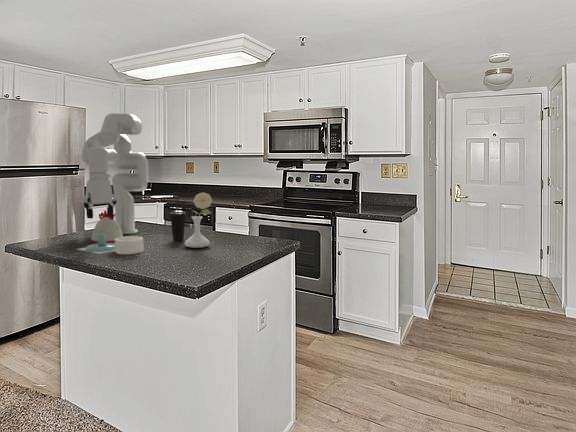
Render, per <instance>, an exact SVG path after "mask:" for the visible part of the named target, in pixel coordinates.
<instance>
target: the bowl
mask: <svg viewBox="0 0 576 432" xmlns="http://www.w3.org/2000/svg"><path fill="white" fill-rule="evenodd" d="M114 244H115V251H114V252H115V253H116V254H118V255H134V254H135V255H136V256H137V255H138V254H141V253H142V252H144V248H145V247H144V244H145V243H144V237H143V236H137V235H133V236H132V235H130V236H127V235H126V236H123V237H119V238H116V239H115V242H114Z"/></svg>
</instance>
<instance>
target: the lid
mask: <svg viewBox="0 0 576 432" xmlns="http://www.w3.org/2000/svg"><path fill="white" fill-rule="evenodd" d="M97 236H98V243H92V244H89V245H87V246H86V247H87V250H88V251H109V250H114V249H115V242H114V243H106V234H97Z"/></svg>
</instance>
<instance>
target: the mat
mask: <svg viewBox="0 0 576 432" xmlns="http://www.w3.org/2000/svg"><path fill="white" fill-rule="evenodd" d="M76 250H77V251H84V252H88V253H94V254H98V255H99V254H104V253H109V252H115V249H114V250H109V251H88V250H87V246H86V247H81V248H77V249H76Z"/></svg>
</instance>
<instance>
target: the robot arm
mask: <svg viewBox="0 0 576 432" xmlns="http://www.w3.org/2000/svg"><path fill="white" fill-rule="evenodd" d="M142 129H143V125H142V121H141V120H140V118H138V117H137V116H136V115H134V114H131V113H120V112H119V113H115V112H114V113H113V112H112V113H108V114H107V115H106V116H105V117H104V120H103V122H102V126H101V129H100V131H98V132H97V133H95V134H94V135H92V136H90V137H89V138H88V139H87V140H86V141H85V142H84V145H83V148H82V150H81V161H82V162H83V163H84V165H85V164H86V165H87V166H88V176H89V177H88V180H87V182H86V186H85V195H83V196H82V197H80V198H79V202H81V204H82V206H83V207H84V209H85V211H86V213H85V214H86V219H94V210H93V206H94V205H101V204H103V205H104V204H106V206H107V207H106V213H107V216H113V214H115V217H114V218H115V219H114V220H115V221H116V222H117V223H118V225H119V226H120V228H121V231H122V234H123V235H130V234H136V233H138V232H139V230H138V229H137V228H135V227H136V223H135V222H136V221H135V218H136V217H135V200H134V197H133V195H132V194H131V193H130V192H144V191H146V190H147V188H148V163H147V160H148V159H147V156H146V155H145V154H144V153H143V152H140V151H139V152H137V151H136V152H135V151H132V143H131V142H132V141H131V140H130V139H129V137H128V135H129V136H138V135H140V134H141V133H142V131H143V130H142ZM110 146H113V148H112V147H110ZM109 166H114V167H115V168H116V169H117V170H120V171H136V172H117V173H114V174H113V176H112V177H111V174H110V173H109ZM110 178H111V180H110Z"/></svg>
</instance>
